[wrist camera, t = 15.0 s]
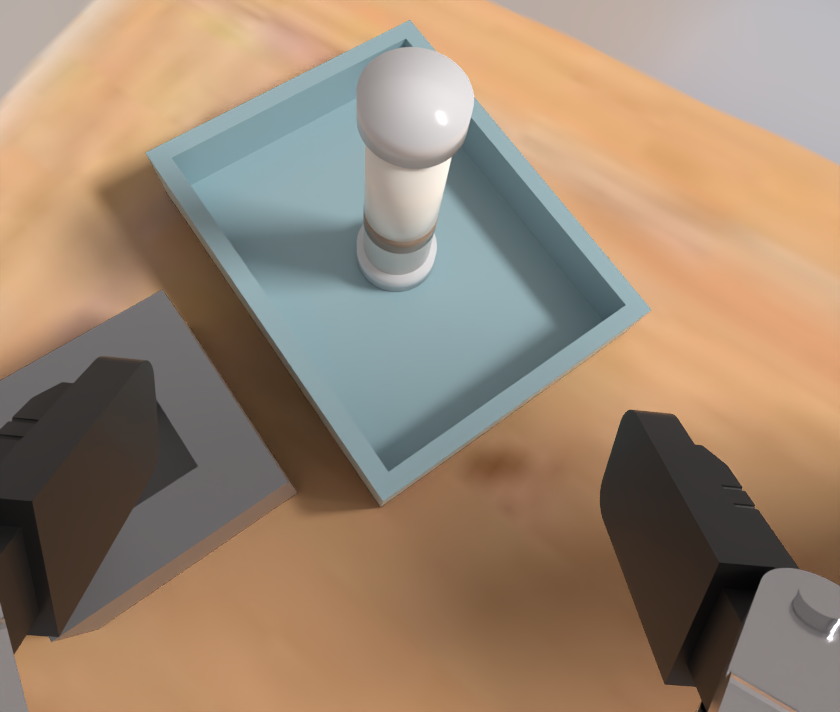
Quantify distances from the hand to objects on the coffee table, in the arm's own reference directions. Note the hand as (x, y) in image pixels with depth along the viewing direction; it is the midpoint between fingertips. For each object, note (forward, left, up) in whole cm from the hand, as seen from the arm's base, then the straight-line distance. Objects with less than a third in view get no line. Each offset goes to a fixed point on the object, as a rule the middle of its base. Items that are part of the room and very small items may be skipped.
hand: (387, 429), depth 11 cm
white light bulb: (-7, -9, -16) cm, 20 cm away
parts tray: (-7, -9, -17) cm, 20 cm away
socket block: (+7, -7, -17) cm, 19 cm away
